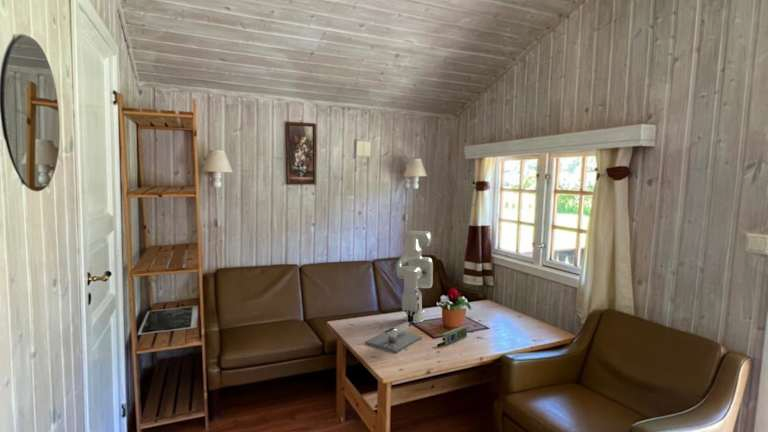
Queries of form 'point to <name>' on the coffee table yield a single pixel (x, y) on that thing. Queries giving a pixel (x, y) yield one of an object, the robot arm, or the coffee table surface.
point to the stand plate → (402, 342)
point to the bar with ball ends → (396, 331)
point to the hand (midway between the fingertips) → (410, 321)
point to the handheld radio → (454, 335)
